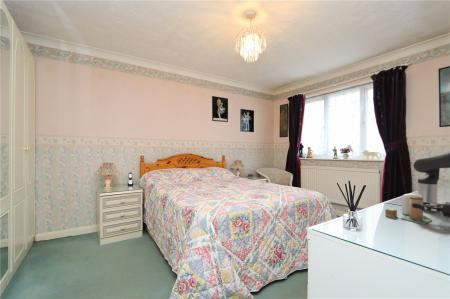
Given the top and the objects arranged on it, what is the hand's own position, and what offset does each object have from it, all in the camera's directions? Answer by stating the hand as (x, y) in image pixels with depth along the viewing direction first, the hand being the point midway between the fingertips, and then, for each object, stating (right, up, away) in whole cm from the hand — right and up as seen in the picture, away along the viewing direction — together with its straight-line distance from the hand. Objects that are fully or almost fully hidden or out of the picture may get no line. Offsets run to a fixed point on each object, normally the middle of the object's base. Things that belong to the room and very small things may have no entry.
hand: (415, 204), depth 119 cm
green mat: (0, -9, 0) cm, 9 cm away
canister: (0, -8, 0) cm, 8 cm away
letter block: (-8, -9, +7) cm, 14 cm away
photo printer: (+7, -9, +11) cm, 16 cm away
